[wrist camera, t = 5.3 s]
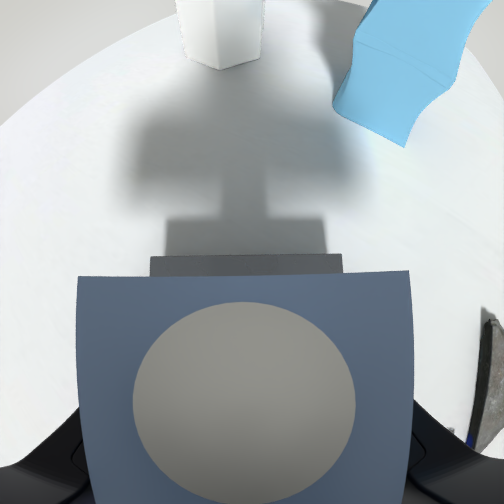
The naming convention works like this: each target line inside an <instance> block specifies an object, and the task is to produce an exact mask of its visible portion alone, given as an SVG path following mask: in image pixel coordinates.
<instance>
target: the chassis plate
mask: <svg viewBox="0 0 504 504" xmlns="http://www.w3.org/2000/svg"><path fill="white" fill-rule="evenodd" d="M335 273H343V265H342V254H293V255H227V256H153V257H151V258H150V277H195V276H262V275H303V274H335Z"/></svg>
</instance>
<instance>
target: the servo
mask: <svg viewBox="0 0 504 504" xmlns="http://www.w3.org/2000/svg"><path fill="white" fill-rule="evenodd" d="M76 368H77V386H78V399H79V410H80V419H81V427H82V435H83V442H84V448H85V455H86V460H87V466H88V471H89V476H90V481H91V485H92V490H93V494H94V498H95V502H96V504H401V503H402V498H403V492H404V486H405V480H406V474H407V467H408V459H409V450H410V441H411V430H412V416H413V397H414V334H413V313H412V299H411V287H410V277H409V270H408V271H386V272H362V273H335V274H303V275H262V276H195V277H102V276H78V284H77V302H76Z"/></svg>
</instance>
